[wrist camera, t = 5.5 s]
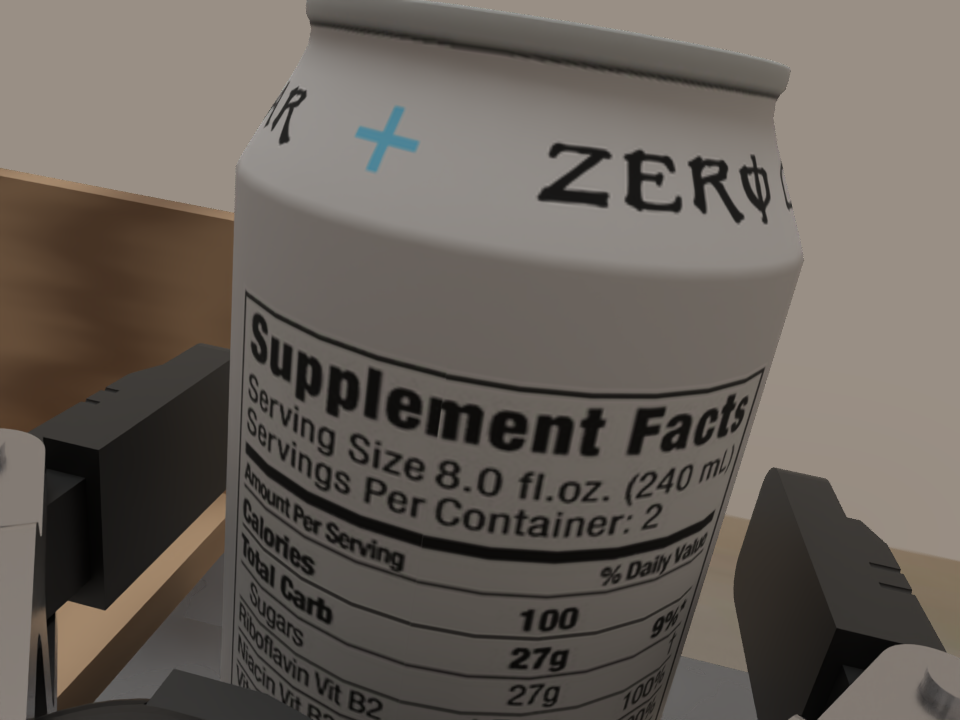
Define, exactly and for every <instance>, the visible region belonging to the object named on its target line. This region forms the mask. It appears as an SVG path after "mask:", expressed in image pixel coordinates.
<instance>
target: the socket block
mask: <svg viewBox="0 0 960 720" xmlns="http://www.w3.org/2000/svg"><path fill="white" fill-rule="evenodd" d="M223 582H224V553H223V554H222V555H221V556H220V557H219V559H218V560H217V561H216V562H215V563H214V564H213V565H212V567H211V568H210V569H209V570H208V571H207V572H206V574H205V575H204V576H203V577H202V578H201V579H200V580H199V582H198V583H197V584H196V585H195V586H194V587H193V589H192V590H191V591H190V592H189V593H188V594H187V595H186V597H185V598H184V599H183V600H182V601H181V602H180V603H179V605H178V606H177V607H176V608H175V609H174V610H173V612H172V613H171V614H170V615H169V616H168V617H167V618H166V620H165V621H164V622H163V623H162V624H161V625H160V627H159V628H158V629H157V630H156V631H155V632H154V633H153V635H152V636H151V637H150V638H149V639H148V640H147V641H146V643H145V644H144V645H143V646H142V647H141V648H140V650H139V651H138V652H137V653H136V654H135V655H134V656H133V658H132V659H131V660H130V661H129V662H128V663H127V665H126V666H125V667H124V668H123V669H122V670H121V671H120V673H119V674H118V675H117V676H116V677H115V678H114V680H113V681H112V682H111V683H110V684H109V685H108V686H107V688H106V689H105V690H104V691H103V692H102V693H101V694H100V696H99V697H98V698H97V699H96V700H95V701H94V702H101V701H108V700H117V699H135V698H147V699H151V697H152V696H153V695H154V693H155V692H156V691H157V690H158V688H159V687H160V686H161V684H162V683H163V682H164V681H165V679H166V678H167V677H168V676H169V674H170V673H171V672H172V670H173V669H178V670H181V671H185V672H189V673H192V674H196V675H200V676H203V677H207V678H211V679H214V680H218V681H221V650H222V616H223ZM661 720H758V719H757V714H756V709H755V704H754V699H753V694H752V689H751V684H750V679H749V674H748V672H744V671H740V670H736V669H732V668H728V667H724V666H720V665H716V664H712V663H708V662H704V661H699V660H695V659H691V658H687V657H683V656H681V657H680V660H679V663H678V666H677V670H676V673H675V676H674V679H673V683H672V686H671V689H670V692H669V695H668V699H667V702H666V705H665V708H664V711H663V715H662V718H661Z"/></svg>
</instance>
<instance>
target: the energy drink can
mask: <svg viewBox="0 0 960 720" xmlns="http://www.w3.org/2000/svg"><path fill="white" fill-rule="evenodd" d="M306 14H307V16H308V18H309V20H310V25H311V33H310V38H309V43H308V46H307V48H306V50H305V52H304V54H303V56H302V58H301V60H300V61H299V63H298V65H297V67H296V69H295V70H294V72H293V74H292V75H291V77H290V79H289V80H288V82H287V83H286V85H285V87H284V88H283V90H282V92H281V93H280V95H279V96H278V98H277V100H276V101H275V103H274V104H273V106H272V107H271V109H270V110H269V112H268V114H267V115H266V117H265V118H264V120H263V122H262V123H261V125H260V127H259V128H258V129H257V131H256V133H255V134H254V136H253V137H252V139H251V141H250V142H249V144H248V145H247V147H246V149H245V150H244V152H243V154H242V155H241V157H240V159H239V161H238V163H237V165H236V179H235V212H234V246H233V279H232V313H231V347H230V380H229V414H228V448H227V481H226V515H225V549H224V582H223V616H222V650H221V681H222V682H225V683H229V684H233V685H236V686H240V687H244V688H247V689H251V690H255V691H258V692H262V693H266V694H268V695H270V696H272V697H274V698H275V699H277V700H279V701H281V702H283V703H284V704H286V705H288V706H290V707H292V708H293V709H295V710H297V711H299V712H301V713H302V714H304V715H306V716H308V717H310V718H311V719H313V720H661V718H662V715H663V711H664V708H665V705H666V702H667V699H668V695H669V692H670V689H671V686H672V683H673V679H674V676H675V673H676V670H677V666H678V663H679V660H680V657H681V654H682V650H683V647H684V644H685V641H686V638H687V634H688V631H689V628H690V625H691V621H692V618H693V615H694V612H695V609H696V605H697V602H698V599H699V596H700V593H701V589H702V586H703V583H704V580H705V576H706V573H707V570H708V567H709V564H710V560H711V557H712V554H713V551H714V548H715V544H716V541H717V538H718V535H719V531H720V528H721V525H722V522H723V519H724V515H725V512H726V509H727V506H728V502H729V499H730V496H731V493H732V490H733V486H734V483H735V480H736V477H737V473H738V470H739V467H740V464H741V461H742V457H743V454H744V451H745V448H746V445H747V441H748V438H749V435H750V432H751V428H752V425H753V422H754V419H755V416H756V412H757V409H758V406H759V402H760V399H761V396H762V393H763V390H764V387H765V384H766V380H767V377H768V374H769V371H770V367H771V364H772V361H773V358H774V354H775V351H776V348H777V345H778V342H779V338H780V335H781V332H782V329H783V326H784V323H785V319H786V316H787V313H788V309H789V306H790V303H791V300H792V297H793V294H794V290H795V287H796V284H797V281H798V277H799V274H800V271H801V267H802V265H803V261H804V259H803V252H802V247H801V242H800V237H799V233H798V229H797V225H796V220H795V216H794V212H793V208H792V204H791V200H790V196H789V192H788V188H787V184H786V180H785V175H784V172H783V167H782V163H781V159H780V154H779V150H778V146H777V141H776V133H775V126H774V120H773V117H774V110H775V103H776V101H777V99H778V97H779V96H780V94H782V93H783V92H784V91H785V89H786V87H787V84H788V81H789V76H790V72H791V70H790V67H788V66H786V65H784V64H781V63H778V62H774V61H771V60H767V59H764V58H759V57H755V56H751V55H746V54H742V53H738V52H733V51H728V50H724V49H718V48H714V47H709V46H703V45H698V44H694V43H689V42H683V41H678V40H672V39H666V38H661V37H656V36H651V35H645V34H640V33H634V32H628V31H622V30H616V29H611V28H604V27H599V26H593V25H587V24H581V23H575V22H568V21H562V20H556V19H549V18H543V17H537V16H531V15H524V14H518V13H511V12H504V11H497V10H490V9H483V8H477V7H470V6H463V5H455V4H448V3H441V2H433V1H425V0H307V3H306Z"/></svg>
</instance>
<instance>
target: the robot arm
mask: <svg viewBox="0 0 960 720" xmlns="http://www.w3.org/2000/svg"><path fill="white" fill-rule="evenodd" d="M229 380H230V349H227V348H223V347H218V346H213V345H209V344H204V343H199V344H196V345H195V346H193V347H191V348H190V349H188V350H186V351H185V352H183V353H181V354H180V355H178V356H176V357H175V358H173V359H171V360H170V361H168V362H166V363H165V364H163V365H159V366H155V367H152V368H148V369H144V370H141V371H137V372H134V373H130V374H128V375H126V376H124V377H123V378H121V379H119V380H117V381H116V382H114V383H112V384H110V385H109V386H107V387H106V388H105V391H103V390H100V391H98V392H97V393H95V394H93V395H91V396H90V397H88V398H86V401H85V402H79V403H78V404H76V405H74V406H72V407H71V408H69V409H67V410H65V411H64V412H62V413H60V414H59V415H57V416H55V417H53V418H52V419H50V420H48V421H46V422H45V423H43V424H41V425H40V426H38V427H36V428H34V429H33V430H31V431H29V432H27V433H26V432H23V431H18V430H12V429H2V428H0V720H313V719H311V718H310V717H308V716H306V715H304V714H302V713H301V712H299V711H297V710H295V709H293V708H292V707H290V706H288V705H286V704H284V703H283V702H281V701H279V700H277V699H275V698H274V697H272V696H270V695H268V694H266V693H262V692H258V691H255V690H251V689H247V688H244V687H240V686H236V685H233V684H229V683H225V682H222V681H218V680H214V679H211V678H207V677H203V676H200V675H196V674H192V673H189V672H185V671H181V670H178V669H173V670H172V672H171V673H170V674H169V676H168V677H167V678H166V679H165V681H164V682H163V683H162V684H161V686H160V687H159V688H158V690H157V691H156V692H155V693H154V695H153V696H152V697H151V699H147V698H135V699H117V700H108V701H101V702H94V703H88V704H83V705H79V706H75V707H71V708H66V709H62V710H59V711H57V657H58V627H57V613H56V611H57V610H58V609H59V608H60V607H62V606H63V605H64V604H65V603H66V602H67V601H71V602H74V603H78V604H82V605H86V606H89V607H93V608H97V609H101V610H104V611H106V610H107V609H108V608H109V607H110V606H111V605H112V604H113V603H114V602H115V601H116V600H117V599H118V598H119V597H120V596H121V595H122V594H123V593H124V592H125V591H126V590H127V589H128V588H129V587H130V586H131V585H132V584H133V583H134V582H135V581H136V579H137V578H138V577H139V576H140V575H141V574H142V573H143V572H144V571H145V570H146V569H147V568H148V567H149V566H150V565H151V564H152V563H153V562H154V561H155V560H156V559H157V558H158V557H159V556H160V555H161V554H162V553H163V552H164V551H165V550H166V549H167V548H168V547H169V546H170V545H171V544H172V543H173V542H174V541H175V540H176V539H177V538H178V537H179V536H180V535H181V534H182V533H183V532H184V531H185V530H186V529H187V528H188V527H189V526H190V525H191V524H192V523H193V522H194V521H195V520H196V519H197V518H198V517H199V516H200V515H201V514H202V513H203V512H204V511H205V510H206V509H207V508H208V507H209V506H210V505H211V504H212V503H213V502H214V501H215V500H216V499H217V498H218V497H219V496H220V495H221V494H222V493H223V492H224V491H225V490H226V481H227V448H228V414H229ZM900 570H901V569H900V567H899V565H898V563H897V562H896V560H895V558H894V556H893V554H892V552H891V551H890V549H889V547H888V545H887V544H886V543H884V542H883V540H881V539H880V538H879V537H878V536H877V535H876V534H875V533H874V532H872V531H871V530H870V529H869V528H868V527H867V526H866V525H865V524H864V523H863V522H861V521H860V520H856V519H852V518H847V517H846V515H845V513H844V511H843V509H842V507H841V505H840V503H839V501H838V499H837V497H836V495H835V493H834V491H833V489H832V487H831V485H830V483H829V481H828V480H827V479H825V478H820V477H816V476H811V475H806V474H802V473H797V472H792V471H788V470H783V469H778V468H771V469H770V470H769V472H768V473H767V475H766V477H765V479H764V481H763V484H762V487H761V490H760V493H759V496H758V499H757V502H756V505H755V508H754V511H753V514H752V517H751V520H750V523H749V526H748V529H747V533H746V536H745V539H744V542H743V545H742V548H741V551H740V554H739V557H738V561H737V565H736V570H735V577H734V602H735V607H736V613H737V618H738V623H739V628H740V633H741V638H742V643H743V648H744V653H745V658H746V663H747V668H748V674H749V679H750V684H751V689H752V694H753V699H754V704H755V709H756V714H757V719H758V720H960V658H958V657H956V656H953V655H951V654H949V653H947V652H946V650H945V649H944V647H943V645H942V643H941V641H940V639H939V638H938V636H937V634H936V632H935V630H934V629H933V627H932V625H931V623H930V621H929V620H928V618H927V616H926V614H925V612H924V610H923V609H922V607H921V605H920V603H919V601H918V600H917V598H916V596H915V595H912V594H911V593H912V589H911V587H910V585H909V583H908V581H907V580H906V578H905V576H904V574H900Z"/></svg>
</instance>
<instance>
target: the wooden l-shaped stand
mask: <svg viewBox="0 0 960 720" xmlns="http://www.w3.org/2000/svg"><path fill="white" fill-rule="evenodd" d="M233 246H234V213H231V212H227V211H222V210H216V209H211V208H206V207H201V206H196V205H190V204H185V203H180V202H174V201H169V200H164V199H159V198H154V197H149V196H143V195H138V194H132V193H128V192H123V191H117V190H112V189H107V188H101V187H97V186H91V185H86V184H81V183H76V182H70V181H65V180H60V179H55V178H49V177H44V176H39V175H33V174H29V173H23V172H18V171H13V170H8V169H3V168H0V428H2V429H12V430H18V431H23V432H26V433H27V432H29V431H31V430H33V429H34V428H36V427H38V426H40V425H41V424H43V423H45V422H46V421H48V420H50V419H52V418H53V417H55V416H57V415H59V414H60V413H62V412H64V411H65V410H67V409H69V408H71V407H72V406H74V405H76V404H78V403H79V402H85V401H86V398H88V397H90V396H91V395H93V394H95V393H97V392H98V391H100V390H103V391H105V388H106V387H107V386H109V385H110V384H112V383H114V382H116V381H117V380H119V379H121V378H123V377H124V376H126V375H128V374H130V373H134V372H137V371H141V370H144V369H148V368H152V367H155V366H159V365H163V364H165V363H166V362H168V361H170V360H171V359H173V358H175V357H176V356H178V355H180V354H181V353H183V352H185V351H186V350H188V349H190V348H191V347H193V346H195V345H196V344H199V343H204V344H209V345H213V346H218V347H223V348H227V349H230V347H231V313H232V279H233ZM225 515H226V490H225V491H224V492H223V493H222V494H221V495H220V496H219V497H218V498H217V499H216V500H215V501H214V502H213V503H212V504H211V505H210V506H209V507H208V508H207V509H206V510H205V511H204V512H203V513H202V514H201V515H200V516H199V517H198V518H197V519H196V520H195V521H194V522H193V523H192V524H191V525H190V526H189V527H188V528H187V529H186V530H185V531H184V532H183V533H182V534H181V535H180V536H179V537H178V538H177V539H176V540H175V541H174V542H173V543H172V544H171V545H170V546H169V547H168V548H167V549H166V550H165V551H164V552H163V553H162V554H161V555H160V556H159V557H158V558H157V559H156V560H155V561H154V562H153V563H152V564H151V565H150V566H149V567H148V568H147V569H146V570H145V571H144V572H143V573H142V574H141V575H140V576H139V577H138V578H137V579H136V581H135V582H134V583H133V584H132V585H131V586H130V587H129V588H128V589H127V590H126V591H125V592H124V593H123V594H122V595H121V596H120V597H119V598H118V599H117V600H116V601H115V602H114V603H113V604H112V605H111V606H110V607H109V608H108V609H107V610H106V611H104V610H101V609H97V608H93V607H89V606H86V605H82V604H78V603H74V602H71V601H67V602H66V603H65V604H64V605H63V606H62V607H60V608H59V609H58V610H57V611H56V613H57V627H58V657H57V711H59V710H62V709H66V708H71V707H75V706H79V705H83V704H88V703H94V701H95V700H96V699H97V698H98V697H99V696H100V694H101V693H102V692H103V691H104V690H105V689H106V688H107V686H108V685H109V684H110V683H111V682H112V681H113V680H114V678H115V677H116V676H117V675H118V674H119V673H120V671H121V670H122V669H123V668H124V667H125V666H126V665H127V663H128V662H129V661H130V660H131V659H132V658H133V656H134V655H135V654H136V653H137V652H138V651H139V650H140V648H141V647H142V646H143V645H144V644H145V643H146V641H147V640H148V639H149V638H150V637H151V636H152V635H153V633H154V632H155V631H156V630H157V629H158V628H159V627H160V625H161V624H162V623H163V622H164V621H165V620H166V618H167V617H168V616H169V615H170V614H171V613H172V612H173V610H174V609H175V608H176V607H177V606H178V605H179V603H180V602H181V601H182V600H183V599H184V598H185V597H186V595H187V594H188V593H189V592H190V591H191V590H192V589H193V587H194V586H195V585H196V584H197V583H198V582H199V580H200V579H201V578H202V577H203V576H204V575H205V574H206V572H207V571H208V570H209V569H210V568H211V567H212V565H213V564H214V563H215V562H216V561H217V560H218V559H219V557H220V556H221V555H222V554H223V553H224V549H225Z"/></svg>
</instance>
